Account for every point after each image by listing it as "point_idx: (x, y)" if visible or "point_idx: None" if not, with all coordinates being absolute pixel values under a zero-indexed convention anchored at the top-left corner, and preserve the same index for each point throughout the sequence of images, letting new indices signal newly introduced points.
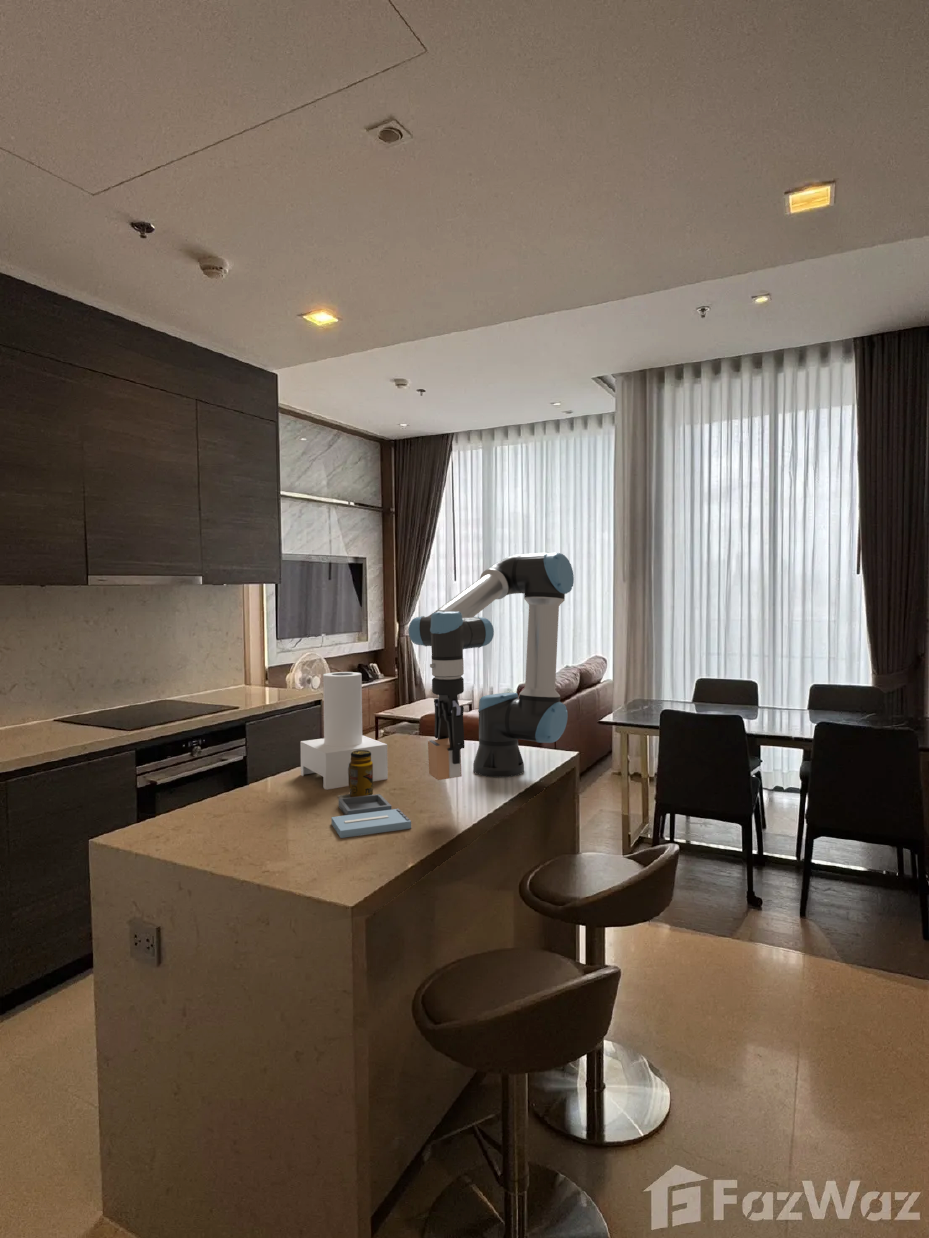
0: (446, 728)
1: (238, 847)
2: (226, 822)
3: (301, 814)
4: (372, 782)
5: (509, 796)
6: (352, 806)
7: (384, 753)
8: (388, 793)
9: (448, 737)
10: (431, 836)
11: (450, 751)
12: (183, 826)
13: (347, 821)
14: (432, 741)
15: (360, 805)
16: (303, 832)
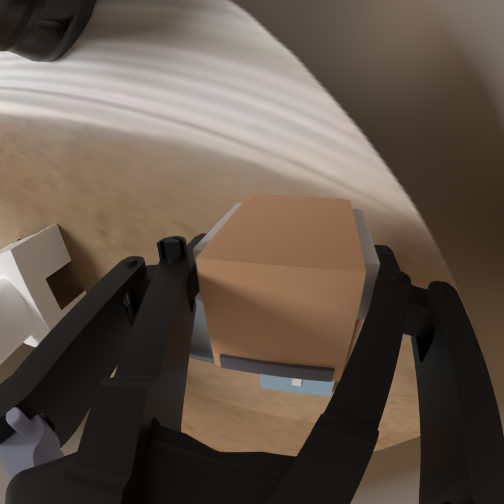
0: (178, 328)
1: (298, 444)
2: (213, 431)
3: (205, 387)
4: (126, 301)
5: (219, 3)
6: (196, 337)
7: (24, 248)
8: (124, 252)
9: (185, 269)
10: (413, 282)
11: (367, 310)
12: (214, 447)
13: (297, 382)
14: (250, 367)
15: (193, 326)
16: (282, 407)
